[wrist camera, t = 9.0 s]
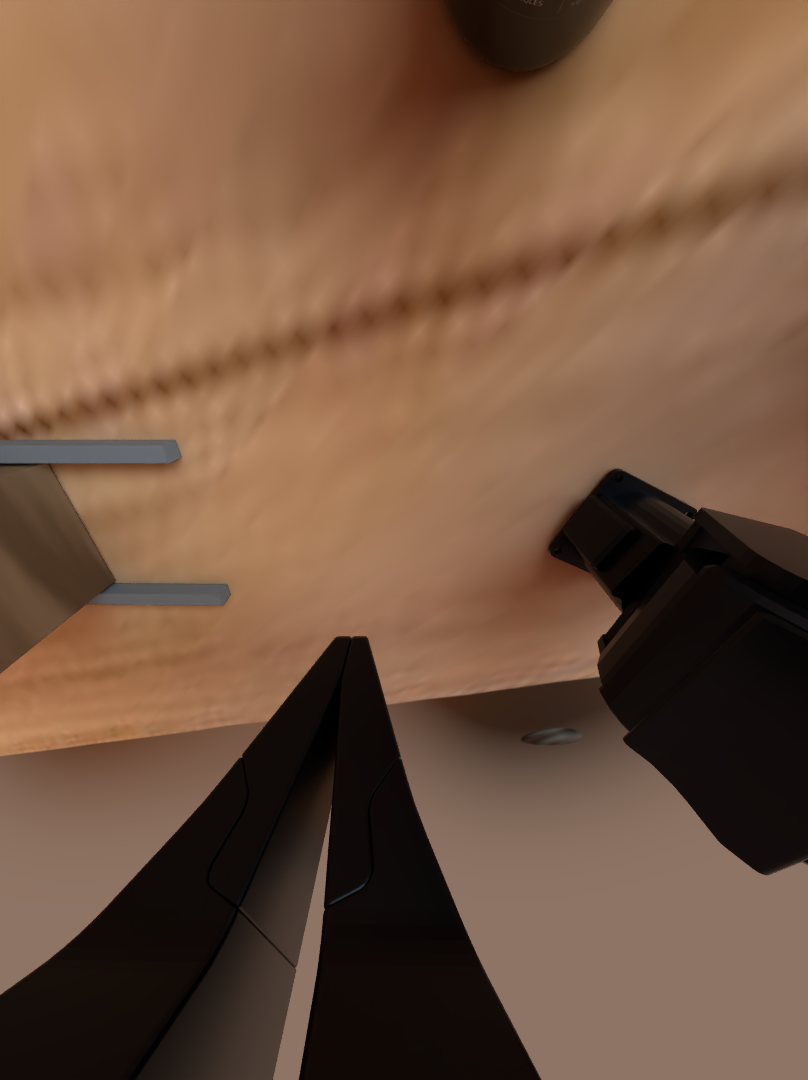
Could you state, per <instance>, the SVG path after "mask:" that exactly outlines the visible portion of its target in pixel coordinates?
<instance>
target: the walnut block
mask: <svg viewBox="0 0 808 1080" xmlns="http://www.w3.org/2000/svg"><path fill="white" fill-rule="evenodd" d="M114 581H115V580H114V578H113V576H112V574H111V573H110V571H109V569H108V567H107V566H106V564H105V562H104V561H103V559H102V557H101V555H100V554H99V552H98V550H97V548H96V547H95V545H94V543H93V541H92V540H91V538H90V536H89V534H88V533H87V531H86V529H85V527H84V526H83V524H82V522H81V521H80V519H79V517H78V515H77V514H76V512H75V510H74V508H73V507H72V505H71V503H70V501H69V500H68V498H67V496H66V494H65V493H64V491H63V489H62V487H61V486H60V484H59V482H58V480H57V479H56V477H55V475H54V474H53V472H52V470H51V468H50V467H49V465H48V463H0V673H2V672H3V671H4V670H5V669H7V668H8V667H9V666H10V665H11V664H13V663H14V662H15V661H16V660H18V659H19V658H20V657H21V656H23V655H24V654H25V653H26V652H28V651H29V650H30V649H31V648H33V647H34V646H35V645H36V644H37V643H39V642H40V641H41V640H42V639H44V638H45V637H46V636H47V635H49V634H50V633H51V632H52V631H54V630H55V629H56V628H57V627H58V626H60V625H61V624H62V623H63V622H65V621H66V620H67V619H68V618H70V617H71V616H72V615H73V614H75V613H76V612H77V611H78V610H80V609H81V608H82V607H83V606H84V605H86V604H87V603H88V602H89V601H91V600H92V599H93V598H94V597H96V596H97V595H98V594H99V593H101V592H102V591H103V590H104V589H106V588H107V587H108V586H109V585H110V584H112V583H113V582H114Z"/></svg>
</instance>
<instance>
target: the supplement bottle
mask: <svg viewBox="0 0 808 1080" xmlns="http://www.w3.org/2000/svg"><path fill="white" fill-rule="evenodd" d="M612 1H613V0H444V2H445V4H446V7H447V9H448V12H449V14H450V16H451V18H452V20H453V22H454V24H455V26H456V28H457V30H458V31H459V33H460V34H461V36H462V38H463V39H464V40H465V42H466V43H467V44H468V45H469V47H470V48H471V49H472V50H473V51H474V52H475V53H476V54H477V55H478V56H480V57H481V58H482V59H483V60H485V61H486V62H488V63H490V64H491V65H493V66H495V67H498V68H501V69H504V70H508V71H516V72H523V71H531V70H535V69H539V68H542V67H544V66H547V65H549V64H551V63H553V62H554V61H556V60H558V59H559V58H561V57H562V56H564V55H565V54H567V53H568V52H569V51H571V50H572V49H573V48H574V47H575V46H576V45H578V44H579V43H580V42H581V41H582V40H583V39H584V38H585V37H586V35H587V34H588V33H589V32H590V31H591V30H592V28H593V27H594V26H595V25H596V24H597V22H598V21H599V20H600V18H601V17H602V16H603V14H604V13H605V11H606V10H607V9H608V7H609V6H610V4H611V3H612Z"/></svg>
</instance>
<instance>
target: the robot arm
mask: <svg viewBox="0 0 808 1080" xmlns="http://www.w3.org/2000/svg"><path fill="white" fill-rule="evenodd" d="M618 475H620V477H619V479H617V480H616V481H614V479H615V477H616V476H618ZM687 512H688V513H687ZM686 513H687V514H686ZM685 514H686V515H685ZM693 519H695V521H694V520H693ZM556 548H559V550H557V551H555V549H556ZM548 550H549V552H550V554H551V555H552V556H553V557H555V558H558V559H560V560H562V561H564V562H567V563H569V564H571V565H574V566H576V567H578V568H580V569H583V570H585V571H587V572H590V573H591V574H592V575H593V577H594V578H595V579H596V580H597V582H598V583H599V584H600V586H601V587H602V588H603V589H604V591H605V592H606V593H607V595H608V596H609V597H610V598H611V600H612V601H613V602H614V604H615V605H616V606H617V608H618V609H619V610H620V611H621V613H622V614H621V615H620V617H619V618H618V619H617V620H616V622H615V623H614V624H613V626H612V627H611V628H610V629H609V631H608V632H607V633H606V634H603V635H602V636H601V637H600V639H599V640H598V647H599V652H600V657H599V661H598V664H597V666H598V670H599V675H600V679H601V682H602V684H601V685H600V687H599V690H600V693H601V695H602V696H603V698H604V700H605V701H606V703H607V705H608V707H609V708H610V710H611V711H612V713H613V714H614V715H615V716H616V718H617V719H618V720H619V721H620V723H621V724H622V725H623V726H624V727H625V728H626V729H627V730H628V731H629V732H628V733H627V734H626V735H625V736H624V737H623V740H624V742H625V743H626V744H627V745H628V746H629V747H630V748H632V749H633V750H634V751H635V752H637V753H638V754H640V755H641V756H642V757H643V758H645V759H646V760H647V761H648V762H650V763H651V764H652V765H653V766H654V767H655V768H656V769H657V770H658V771H659V772H660V773H661V774H662V775H663V776H664V777H665V778H666V779H667V780H668V781H669V782H670V783H672V785H673V786H674V787H675V788H676V789H677V790H678V792H679V793H680V794H681V795H682V796H683V797H684V799H685V800H686V801H687V802H688V803H689V805H690V806H691V807H692V808H693V810H694V811H695V812H696V813H697V815H698V816H699V817H700V818H701V820H702V821H703V822H704V823H705V825H706V826H707V827H708V829H709V830H710V831H711V832H712V834H713V835H714V836H715V837H716V839H717V840H718V841H719V842H720V843H721V844H722V845H723V846H724V847H726V848H727V849H728V850H729V851H731V852H732V853H733V854H735V855H736V856H737V857H739V858H740V859H741V860H742V861H744V862H745V863H746V864H747V865H749V866H750V867H752V868H753V869H754V870H756V871H757V872H759V873H761V874H764V875H770V874H773V873H775V872H777V871H780V870H783V869H785V868H788V867H790V866H792V865H795V864H797V863H800V862H803V863H805V864H806V865H808V536H806V535H804V534H801V533H799V532H797V531H794V530H791V529H788V528H784V527H780V526H776V525H772V524H768V523H764V522H760V521H756V520H752V519H747V518H743V517H739V516H735V515H731V514H727V513H723V512H719V511H715V510H711V509H707V508H701V509H700V510H699V511H698V513H697V510H696V509H695V508H693V507H691V506H690V505H688V504H686V503H684V502H682V501H680V500H678V499H676V498H674V497H673V496H671V495H669V494H667V493H665V492H663V491H661V490H659V489H657V488H656V487H654V486H652V485H650V484H648V483H646V482H644V481H642V480H640V479H639V478H637V477H635V476H633V475H631V474H629V473H627V472H625V471H623V470H621V469H614V470H612V471H611V472H610V473H608V475H607V476H606V477H605V478H604V480H603V481H602V482H601V483H600V484H599V486H598V487H597V488H596V489H595V491H594V492H593V493H592V494H591V495H590V497H588V498H587V499H586V500H585V502H584V503H583V504H582V505H581V507H580V508H579V509H578V510H577V511H576V513H575V514H574V515H573V516H572V518H571V519H570V520H569V521H568V522H567V524H566V525H565V526H564V527H563V530H562V531H561V532H560V533H559V535H558V536H557V537H556V538H555V539H554V541H553V542H552V543H551V544H550V546H549V548H548ZM331 805H332V808H331ZM330 809H331V821H330V835H329V847H328V860H327V873H326V886H325V899H324V908H325V911H324V914H323V925H322V936H321V945H320V954H319V962H318V969H317V976H316V982H315V988H314V994H313V999H312V1005H311V1011H310V1017H309V1023H308V1029H307V1035H306V1041H305V1047H304V1052H303V1058H302V1064H301V1071H300V1076H299V1080H541V1078H540V1076H539V1074H538V1072H537V1070H536V1068H535V1066H534V1065H533V1063H532V1061H531V1059H530V1057H529V1055H528V1053H527V1051H526V1049H525V1047H524V1045H523V1044H522V1042H521V1040H520V1038H519V1036H518V1034H517V1032H516V1030H515V1028H514V1026H513V1024H512V1023H511V1020H510V1018H509V1017H508V1015H507V1013H506V1011H505V1009H504V1007H503V1005H502V1003H501V1001H500V999H499V997H498V996H497V994H496V992H495V990H494V988H493V986H492V984H491V982H490V980H489V978H488V976H487V974H486V972H485V970H484V968H483V966H482V964H481V962H480V960H479V958H478V956H477V954H476V951H475V949H474V947H473V945H472V943H471V940H470V938H469V936H468V934H467V931H466V929H465V927H464V924H463V922H462V920H461V918H460V915H459V913H458V910H457V908H456V905H455V903H454V900H453V898H452V896H451V893H450V891H449V888H448V886H447V883H446V881H445V878H444V876H443V874H442V871H441V869H440V866H439V864H438V861H437V859H436V857H435V854H434V852H433V849H432V847H431V844H430V842H429V839H428V838H427V835H426V832H425V830H424V827H423V824H422V821H421V819H420V816H419V813H418V811H417V808H416V806H415V802H414V799H413V796H412V793H411V790H410V786H409V783H408V780H407V777H406V773H405V769H404V766H403V763H402V760H401V756H400V752H399V748H398V745H397V741H396V738H395V734H394V731H393V727H392V723H391V720H390V716H389V712H388V709H387V705H386V701H385V698H384V694H383V691H382V687H381V683H380V680H379V676H378V673H377V669H376V665H375V662H374V658H373V655H372V651H371V647H370V644H369V640H368V638H367V637H366V636H354V637H353V638H351V637H350V636H338V637H336V638H335V639H334V640H333V641H332V642H331V644H330V645H329V646H328V647H327V649H326V650H325V651H324V652H323V654H322V655H321V656H320V657H319V659H318V660H317V661H316V662H315V664H314V665H313V666H312V667H311V669H310V670H309V671H308V672H307V674H306V675H305V676H304V678H303V679H302V680H301V681H300V683H299V684H298V685H297V686H296V688H295V689H294V690H293V691H292V693H291V694H290V695H289V696H288V698H287V699H286V700H285V701H284V703H283V704H282V705H281V706H280V708H279V709H278V710H277V711H276V713H275V714H274V715H273V716H272V718H271V719H270V720H269V722H268V723H267V724H266V725H265V727H264V728H263V729H262V731H261V732H260V733H259V734H258V735H257V737H256V738H255V739H254V741H253V742H252V743H251V744H250V745H249V747H248V748H247V749H246V750H245V752H244V753H243V755H242V758H239V759H238V760H237V761H236V763H235V764H234V765H233V767H232V768H231V769H230V770H229V772H228V773H227V774H226V775H225V777H224V778H223V779H222V780H221V781H220V783H219V784H218V785H217V786H216V787H215V789H214V790H213V791H212V792H211V793H210V795H209V796H208V797H207V798H206V799H205V801H204V802H203V803H202V804H201V805H200V806H199V807H198V808H197V810H196V811H195V812H194V813H193V814H192V815H191V816H190V817H189V818H188V819H187V821H186V822H185V823H184V824H183V825H182V826H181V827H180V828H179V830H178V831H177V832H176V833H175V834H174V835H173V836H172V837H171V838H170V839H169V840H168V841H167V842H166V843H165V845H164V846H163V847H162V848H161V849H160V850H159V851H158V852H157V853H156V854H155V855H154V856H153V857H152V859H151V860H150V861H149V862H148V863H147V864H146V865H145V866H144V867H143V868H142V869H141V871H140V872H138V874H137V875H136V876H135V877H134V878H133V879H132V880H131V881H130V882H129V883H128V884H127V885H126V886H125V888H124V889H123V890H122V891H121V892H120V893H119V894H118V895H117V896H116V897H115V898H114V899H113V900H112V902H111V903H110V904H109V905H108V906H107V907H106V908H105V909H104V910H103V911H102V912H101V913H100V914H99V915H98V916H97V917H96V918H95V919H94V920H93V921H92V922H91V923H90V924H89V925H88V926H87V927H86V928H85V929H84V930H83V931H82V932H81V933H80V934H78V936H76V937H75V938H74V939H73V940H72V941H71V942H70V943H68V944H67V945H66V946H65V947H64V948H62V949H61V950H60V951H59V952H57V953H56V954H55V955H54V956H53V957H51V958H50V959H49V960H48V961H46V962H45V963H44V964H42V965H41V966H40V967H38V968H37V969H36V970H34V971H33V972H31V973H30V974H29V975H27V976H26V977H24V978H23V979H22V980H20V981H19V982H17V983H16V984H15V985H13V986H12V987H11V988H9V989H8V990H6V991H5V992H4V993H3V994H1V995H0V1080H273V1076H274V1071H275V1067H276V1062H277V1057H278V1053H279V1048H280V1043H281V1039H282V1034H283V1029H284V1024H285V1020H286V1015H287V1010H288V1006H289V1001H290V997H291V992H292V987H293V983H294V978H295V973H296V969H295V967H296V966H297V963H298V959H299V954H300V949H301V945H302V939H303V935H304V931H305V926H306V921H307V917H308V912H309V907H310V903H311V898H312V893H313V889H314V884H315V879H316V875H317V870H318V865H319V861H320V856H321V851H322V846H323V842H324V837H325V833H326V828H327V823H328V819H329V814H330Z"/></svg>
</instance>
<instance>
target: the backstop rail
mask: <svg viewBox="0 0 808 1080" xmlns="http://www.w3.org/2000/svg"><path fill="white" fill-rule="evenodd" d="M179 458H181V454H180V451H179V448H178V446H177V443H176V440H0V463H171V462H173V461H175V460H177V459H179ZM230 595H231V594H230V591H229V588H228V586H227V584H131V583H112V584H110V585H109V586H108V587H107V588H106V589H104V590H103V591H102V592H101V593H99V594H98V595H97V596H96V597H94V598H93V599H92V600H91V601H89V602H88V603H87V604H119V605H224V603H225V602H226V601H227V599H228V598H229V596H230Z"/></svg>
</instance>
